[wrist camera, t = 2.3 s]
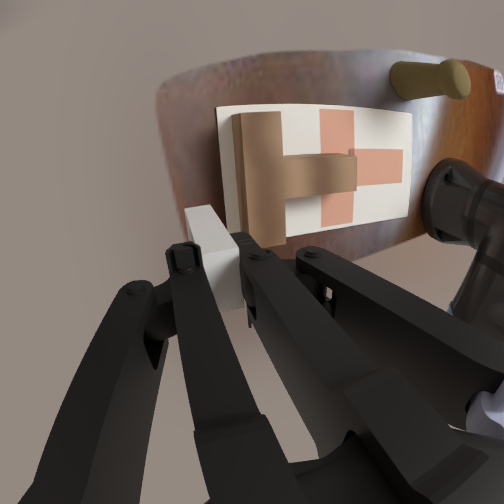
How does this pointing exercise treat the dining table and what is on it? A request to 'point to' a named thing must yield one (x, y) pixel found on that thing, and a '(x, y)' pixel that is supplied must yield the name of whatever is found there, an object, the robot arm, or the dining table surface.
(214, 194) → the dining table surface
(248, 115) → the t block
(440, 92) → the olive pepper mill
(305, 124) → the mat
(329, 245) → the dining table surface
